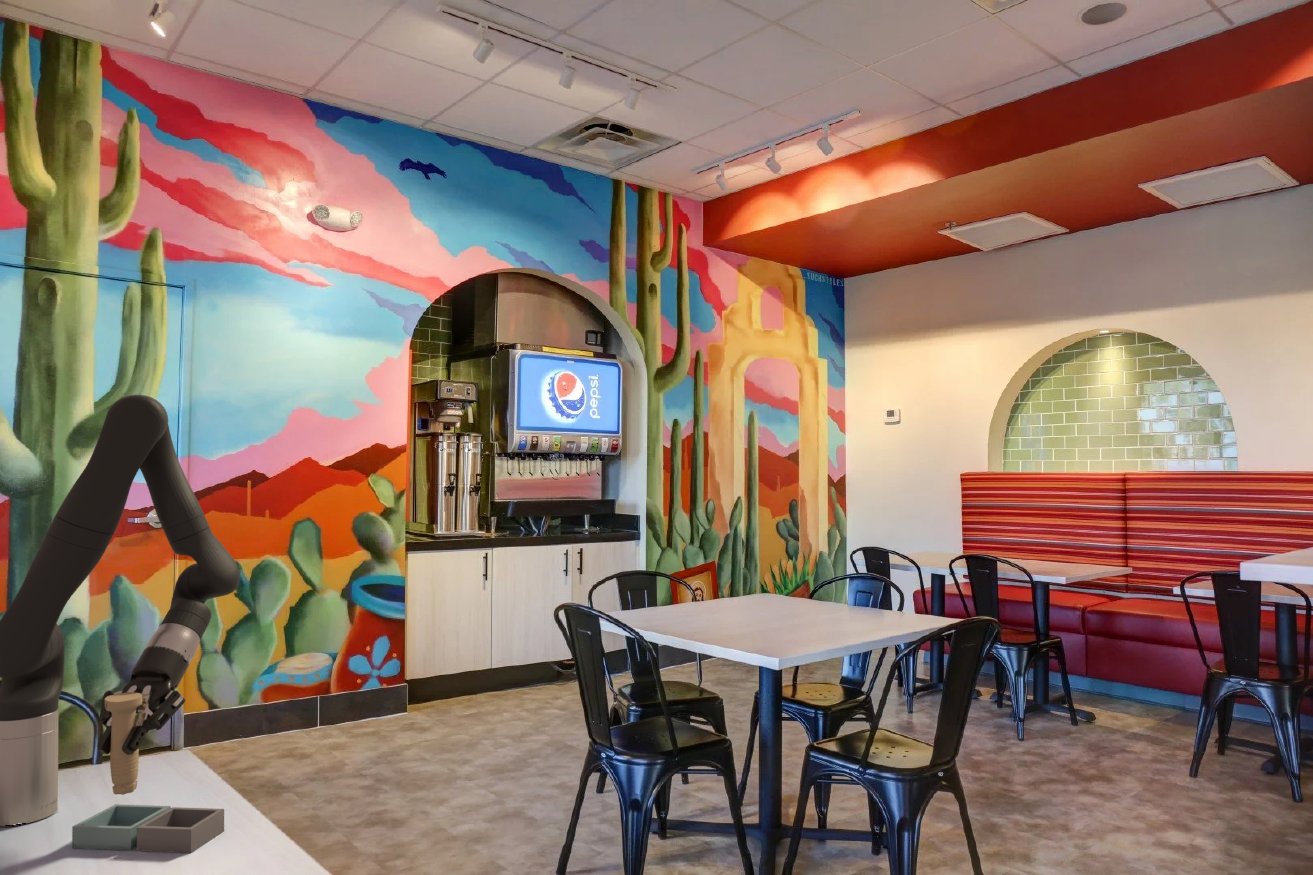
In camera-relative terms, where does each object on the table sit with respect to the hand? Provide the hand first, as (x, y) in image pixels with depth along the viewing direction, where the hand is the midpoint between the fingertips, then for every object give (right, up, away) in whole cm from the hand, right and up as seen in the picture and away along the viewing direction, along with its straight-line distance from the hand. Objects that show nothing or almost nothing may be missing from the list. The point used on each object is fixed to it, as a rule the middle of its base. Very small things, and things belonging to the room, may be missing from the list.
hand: (115, 751), depth 136 cm
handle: (0, -7, +2) cm, 7 cm away
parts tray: (0, -14, +1) cm, 14 cm away
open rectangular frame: (+11, -14, 0) cm, 17 cm away
